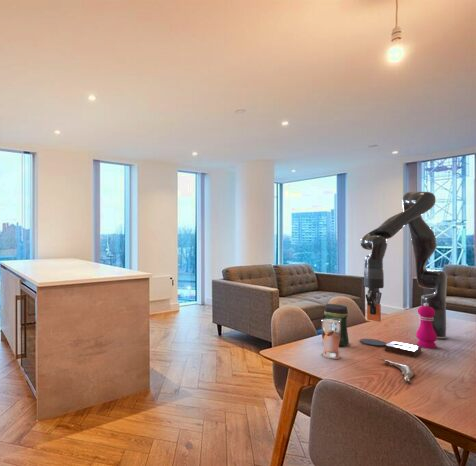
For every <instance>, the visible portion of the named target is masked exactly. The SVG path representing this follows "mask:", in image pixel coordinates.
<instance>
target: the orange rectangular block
mask: <svg viewBox="0 0 476 466" xmlns="http://www.w3.org/2000/svg"><path fill="white" fill-rule="evenodd" d="M381 307H382V305H381V303H380V304H376V314H375V315H373V314H370V306H369V305H368V304H367V303H366V320H367V321H373V322H381V321H382V308H381Z"/></svg>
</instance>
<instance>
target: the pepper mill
mask: <svg viewBox="0 0 476 466" xmlns="http://www.w3.org/2000/svg"><path fill="white" fill-rule="evenodd" d="M417 314H418V317H419V318H418V319H419V320H420V323H419V326H418V329H417V330H416V333H415V336H416V337H415V338H416V339H418V340H417V346H420V347H421V348H427V349H436V348H437V345H436V343H435V342H436V341H438V339H437V335H436V333H435V331H434V329H433V326H432V321H434V320H433V319H434V318H433V316H434V315H435V310H434V309H433V308H432V307H429V304H428V303H424V306H421V305H420V306H419V307H418V308H417Z"/></svg>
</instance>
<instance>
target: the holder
mask: <svg viewBox="0 0 476 466" xmlns="http://www.w3.org/2000/svg"><path fill="white" fill-rule="evenodd" d="M386 344H387V345H385V346H384V347H385V348H384V350H385V352H389V353H393V354H398V355H403V356H406V357H411V358H415V357H417V356H418V355H420V354H422V346H419V345H415V344H410V343H405V342H401V341H400V342H399V341H395V340H392V341H390V342H388V343H386Z"/></svg>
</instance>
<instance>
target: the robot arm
mask: <svg viewBox="0 0 476 466" xmlns="http://www.w3.org/2000/svg"><path fill="white" fill-rule="evenodd" d="M401 201H402V202H401V203H402V209H403V210H402V211H401V212H398V213H396V214H394V215H392V216H390V217H389V218H387V219H386V220H385V221H383V222H382V224H380V225H379V226H378V227H377V228H375V229H373V230H370V231H369V232H368V233H366V234H364V235H363V237H362V238H361V239H360V247H361V248H362V249H364V250H367V251H371V252H370V254H367V255H365V257H364V270H363V286H364V288H368V289H367V292H366V294H365V299H366V305H367V304H368V305H369V306H370V314H373V315H375V314H376V304H381V300H382V299H381V298H382V295H383V294H382V292H381V291H380V289H384V286H385V283H384V282H385V281H384V279H385V276H384V275H385V274H384V273H385V272H384V257H385V254H386V252H387V247H388V241H387V240H389V239H391V238H393V237H394V236H395V235H396V234H398V232H400V231H401V230H402V229H403V228H405V226H407V225H408V231H409V235H410V243H411V247H412V252H413V256H414V257H413V258H414V263H415V277H416V283H417V285H418V286H419V287H420V288H422V289H430V290H435V291H434V292H433V293H430V294H429V293H428V294H425V295H424V294H422V295H421V297H420V307H421V306H424V303H428V304H429V307H432V308H433V309H434V310H435V315H434V316H433V318H434V319H433V320H434V321H432V326H433V329H434V331H435V333H436V335H437V340H446V339H447V286H448V276H447V273H446V272H445V271H443V270H431V269H428V270H427V263H428V261H429V259H430V258H431V257H432V256H433V254H434V253H435V252H436V250H437V248H438V245H437V244H438V243H437V237H436V234H435V232H434V230H433V229H432V228H431V227H430V225H428V224H427V222H426V221H425V220H424V218H423V217H422V215H424V214H426V213H427V212H428V211H430V210H432V208H433V207H434V206H435V204H436V201H437V200H436V195H435V194H434V193H433V192H430V191H408V192H405V194H404V195H403V196H402V200H401Z"/></svg>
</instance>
